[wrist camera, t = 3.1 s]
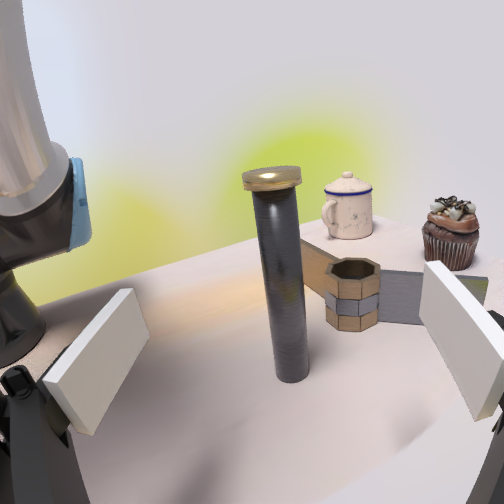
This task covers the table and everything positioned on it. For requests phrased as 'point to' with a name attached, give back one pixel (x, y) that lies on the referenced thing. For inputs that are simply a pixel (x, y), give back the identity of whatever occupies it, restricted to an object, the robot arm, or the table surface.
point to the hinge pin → (281, 265)
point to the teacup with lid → (348, 208)
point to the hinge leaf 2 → (398, 296)
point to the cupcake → (451, 233)
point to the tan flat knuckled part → (341, 283)
